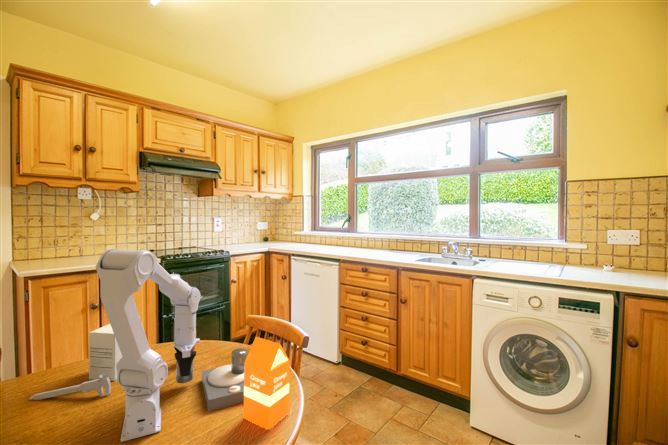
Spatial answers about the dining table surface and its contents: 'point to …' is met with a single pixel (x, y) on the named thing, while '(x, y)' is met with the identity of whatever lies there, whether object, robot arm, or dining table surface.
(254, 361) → the orange juice
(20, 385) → the dining table surface
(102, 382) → the caliper
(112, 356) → the supplement box
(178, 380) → the steel weight
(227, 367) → the kitchen scale
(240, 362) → the steel weight
